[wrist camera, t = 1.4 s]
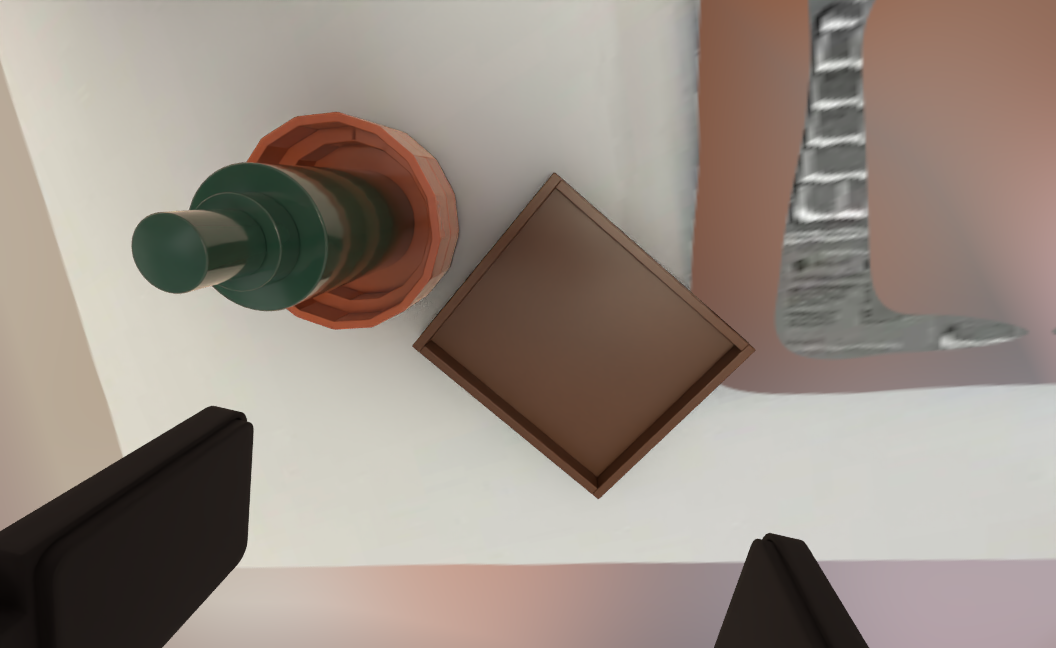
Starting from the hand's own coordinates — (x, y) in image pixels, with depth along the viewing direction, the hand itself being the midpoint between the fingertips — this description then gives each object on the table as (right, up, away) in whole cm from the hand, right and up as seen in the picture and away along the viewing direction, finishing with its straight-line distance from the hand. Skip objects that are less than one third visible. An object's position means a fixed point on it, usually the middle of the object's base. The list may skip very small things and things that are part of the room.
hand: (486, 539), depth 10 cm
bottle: (-10, +11, +25) cm, 29 cm away
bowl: (-10, +11, +25) cm, 29 cm away
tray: (+4, +3, +26) cm, 26 cm away
